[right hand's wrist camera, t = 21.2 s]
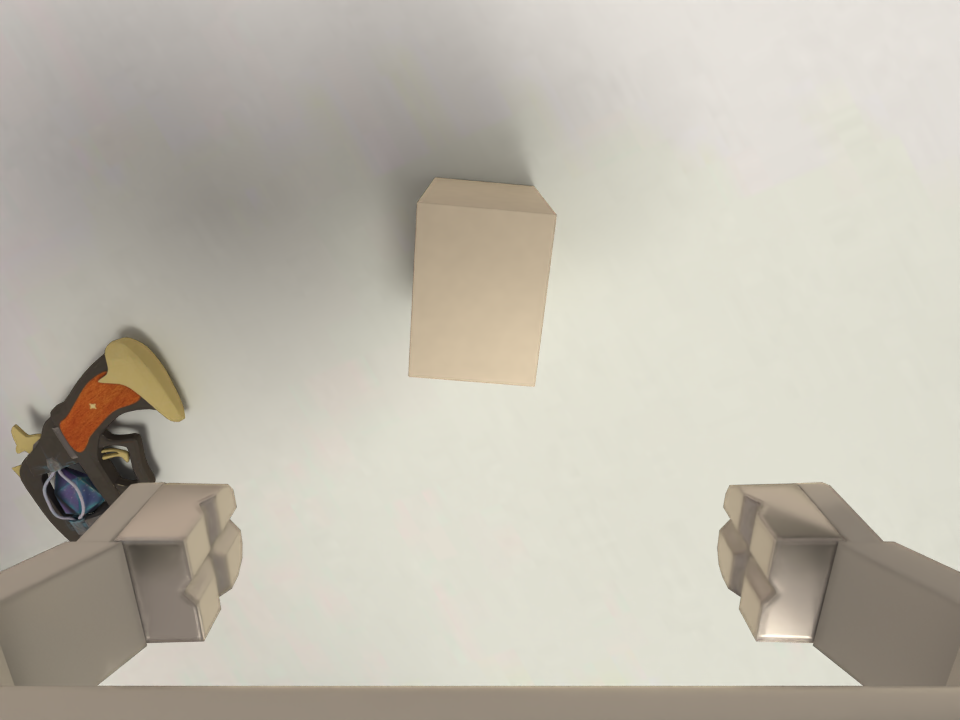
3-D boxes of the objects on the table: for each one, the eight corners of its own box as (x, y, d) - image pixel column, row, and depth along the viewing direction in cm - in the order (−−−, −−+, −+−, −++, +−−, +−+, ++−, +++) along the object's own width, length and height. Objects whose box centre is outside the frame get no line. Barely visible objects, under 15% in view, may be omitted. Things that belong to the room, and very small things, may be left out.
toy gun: (130, 342, 32) (-63, 400, 32) (279, 612, 40) (124, 659, 39) (149, 324, 34) (-30, 378, 34) (285, 581, 42) (140, 626, 42)
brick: (534, 186, 32) (556, 214, 23) (519, 315, 34) (534, 387, 25) (434, 177, 31) (417, 201, 22) (427, 307, 34) (408, 377, 25)
